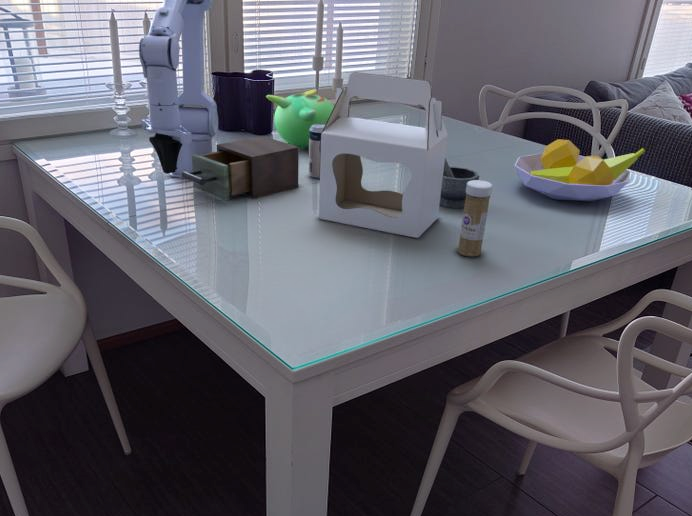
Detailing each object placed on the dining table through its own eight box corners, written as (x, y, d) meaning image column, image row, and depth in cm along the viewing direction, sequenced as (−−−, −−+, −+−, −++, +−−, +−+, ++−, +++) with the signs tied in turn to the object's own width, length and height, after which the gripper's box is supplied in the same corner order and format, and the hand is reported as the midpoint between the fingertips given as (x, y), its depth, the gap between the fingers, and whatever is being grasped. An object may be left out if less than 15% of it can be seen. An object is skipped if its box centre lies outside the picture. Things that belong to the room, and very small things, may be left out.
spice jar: (325, 180, 167) (327, 128, 160) (306, 178, 167) (307, 127, 161) (329, 174, 171) (331, 124, 164) (311, 172, 171) (312, 122, 165)
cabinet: (253, 198, 153) (252, 157, 148) (218, 184, 160) (216, 144, 156) (298, 186, 162) (298, 147, 157) (263, 173, 169) (262, 135, 164)
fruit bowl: (504, 201, 158) (512, 151, 152) (519, 170, 180) (527, 125, 174) (633, 220, 151) (647, 168, 145) (633, 186, 173) (645, 139, 167)
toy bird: (348, 146, 194) (351, 91, 186) (314, 159, 182) (316, 100, 174) (295, 135, 202) (296, 82, 194) (260, 147, 190) (259, 90, 182)
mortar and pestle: (477, 200, 158) (485, 146, 152) (471, 212, 151) (479, 157, 144) (429, 193, 161) (434, 141, 155) (420, 205, 153) (426, 151, 147)
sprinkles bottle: (452, 252, 131) (462, 182, 124) (465, 246, 134) (475, 177, 127) (473, 259, 129) (484, 188, 122) (485, 253, 132) (497, 183, 125)
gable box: (438, 218, 147) (456, 78, 132) (419, 239, 136) (435, 88, 122) (342, 200, 154) (349, 65, 139) (317, 218, 144) (321, 74, 129)
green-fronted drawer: (207, 204, 146) (205, 170, 142) (176, 191, 152) (173, 157, 149) (269, 189, 156) (269, 156, 152) (237, 177, 163) (236, 145, 159)
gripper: (125, 98, 137) (133, 167, 144) (167, 112, 129) (173, 184, 136) (156, 95, 142) (162, 161, 149) (198, 107, 133) (202, 177, 140)
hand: (169, 172), depth 143 cm, fingers closed
